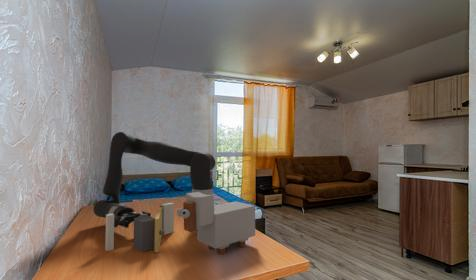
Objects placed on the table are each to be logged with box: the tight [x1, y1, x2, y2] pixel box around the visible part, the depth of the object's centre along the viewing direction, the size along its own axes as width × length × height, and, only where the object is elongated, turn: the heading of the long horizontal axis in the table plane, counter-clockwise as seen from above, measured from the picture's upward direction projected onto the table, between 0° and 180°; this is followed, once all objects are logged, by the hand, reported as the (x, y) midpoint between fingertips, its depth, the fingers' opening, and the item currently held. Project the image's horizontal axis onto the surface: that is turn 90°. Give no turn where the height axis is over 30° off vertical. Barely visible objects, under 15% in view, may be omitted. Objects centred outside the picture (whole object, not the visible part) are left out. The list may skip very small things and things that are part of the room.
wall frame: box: [104, 202, 175, 252], centre depth 93 cm, size 26×2×12 cm, turn 137°
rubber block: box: [133, 215, 156, 252], centre depth 87 cm, size 5×7×10 cm
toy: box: [176, 192, 256, 255], centre depth 83 cm, size 11×28×20 cm, turn 132°
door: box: [154, 207, 165, 253], centre depth 90 cm, size 17×3×11 cm, turn 13°
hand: (139, 222), depth 91 cm, fingers open, 8 cm apart
